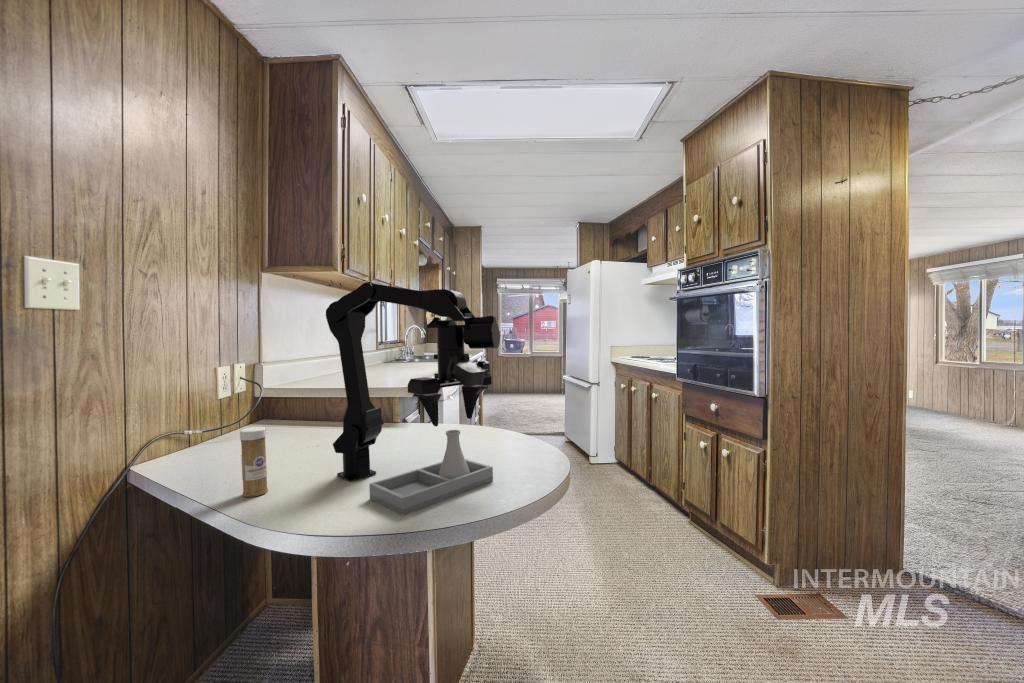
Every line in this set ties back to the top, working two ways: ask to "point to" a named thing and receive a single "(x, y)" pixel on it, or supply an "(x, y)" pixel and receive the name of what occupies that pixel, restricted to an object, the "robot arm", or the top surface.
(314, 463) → the top surface
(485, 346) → the robot arm
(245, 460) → the sprinkles bottle
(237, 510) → the top surface
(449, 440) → the flask
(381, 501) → the tray
